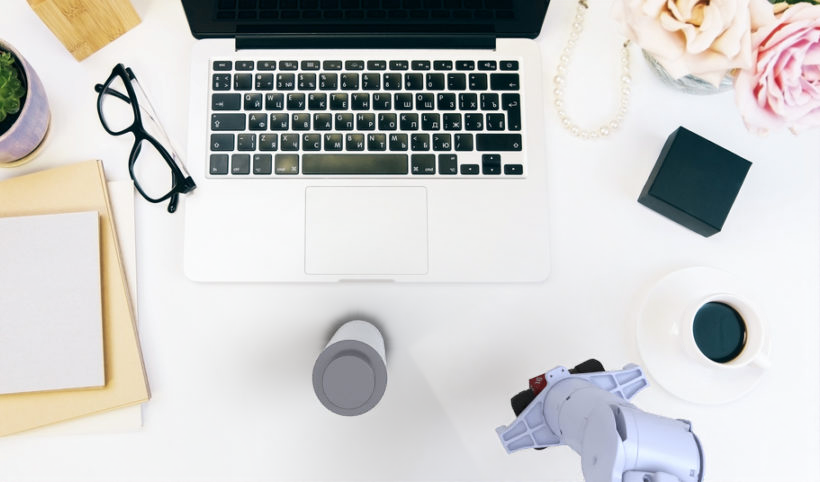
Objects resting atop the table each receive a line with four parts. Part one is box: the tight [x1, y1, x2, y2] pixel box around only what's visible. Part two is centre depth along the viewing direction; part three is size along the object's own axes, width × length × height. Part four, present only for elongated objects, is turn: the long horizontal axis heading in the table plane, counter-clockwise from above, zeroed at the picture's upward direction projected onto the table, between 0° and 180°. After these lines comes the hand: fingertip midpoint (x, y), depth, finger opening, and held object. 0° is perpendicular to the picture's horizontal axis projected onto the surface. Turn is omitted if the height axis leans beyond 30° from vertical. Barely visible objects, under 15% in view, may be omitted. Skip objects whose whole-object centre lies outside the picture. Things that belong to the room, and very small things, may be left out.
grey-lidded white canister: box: [311, 319, 388, 417], centre depth 60 cm, size 6×6×24 cm
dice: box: [528, 372, 547, 397], centre depth 62 cm, size 4×4×4 cm
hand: (546, 390), depth 63 cm, fingers closed on dice, 4 cm apart
